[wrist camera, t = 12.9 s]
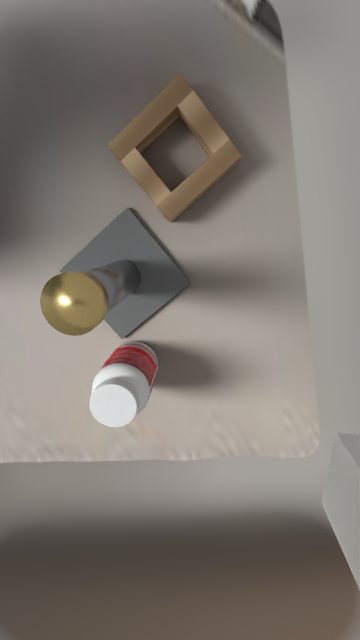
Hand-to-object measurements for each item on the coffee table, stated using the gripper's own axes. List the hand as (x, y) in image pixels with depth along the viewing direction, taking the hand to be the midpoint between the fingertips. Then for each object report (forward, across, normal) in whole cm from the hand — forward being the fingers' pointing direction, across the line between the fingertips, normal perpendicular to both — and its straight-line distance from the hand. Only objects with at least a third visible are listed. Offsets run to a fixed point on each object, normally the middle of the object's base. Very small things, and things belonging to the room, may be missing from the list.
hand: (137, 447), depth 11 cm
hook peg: (+28, -8, +2) cm, 29 cm away
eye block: (+29, -2, +16) cm, 33 cm away
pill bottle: (+29, -6, -9) cm, 31 cm away
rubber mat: (+29, -7, +2) cm, 30 cm away
